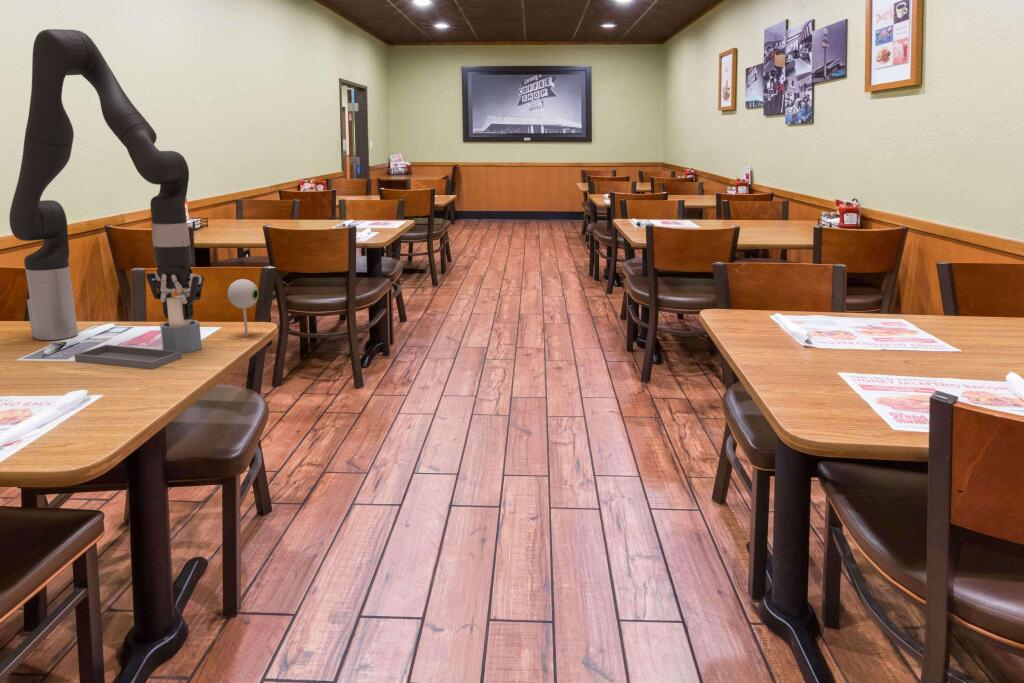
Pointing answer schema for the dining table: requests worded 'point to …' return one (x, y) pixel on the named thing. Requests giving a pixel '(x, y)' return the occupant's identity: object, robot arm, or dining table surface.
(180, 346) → the grey octagonal collar
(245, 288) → the lollipop
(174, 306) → the peg
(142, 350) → the tray
